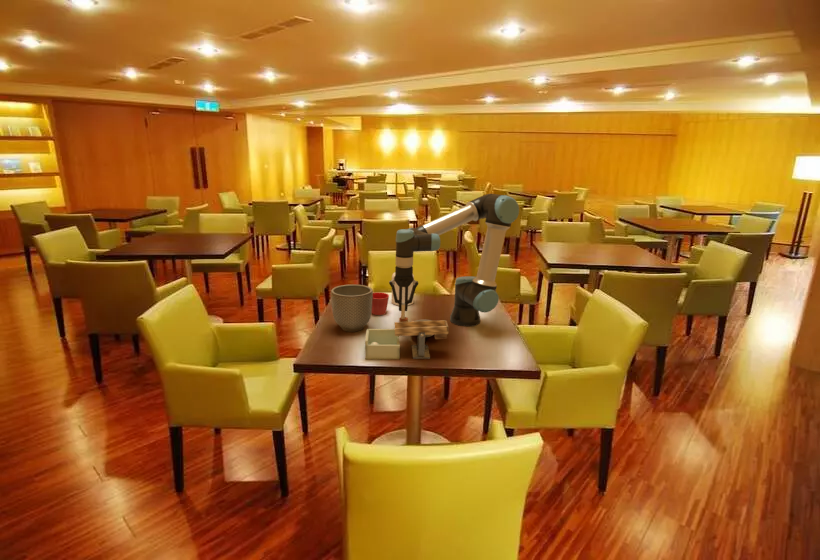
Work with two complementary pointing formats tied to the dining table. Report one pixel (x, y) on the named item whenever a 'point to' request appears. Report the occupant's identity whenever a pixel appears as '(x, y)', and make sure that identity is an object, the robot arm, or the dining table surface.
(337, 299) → the planter
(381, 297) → the flower pot
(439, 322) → the lever
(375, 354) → the cream open box
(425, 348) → the stand
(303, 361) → the dining table surface
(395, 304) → the white bottle
